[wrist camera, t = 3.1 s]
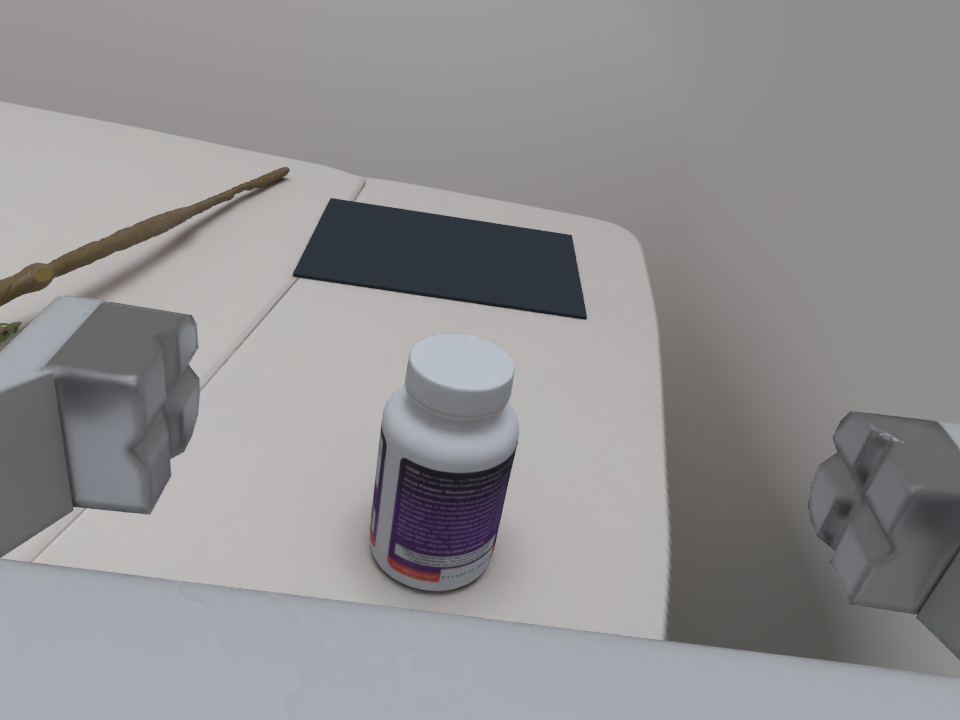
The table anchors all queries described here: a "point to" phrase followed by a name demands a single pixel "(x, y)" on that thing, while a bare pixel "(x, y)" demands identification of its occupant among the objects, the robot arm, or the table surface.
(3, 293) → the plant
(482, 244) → the mat
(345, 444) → the table surface
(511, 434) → the pill bottle
